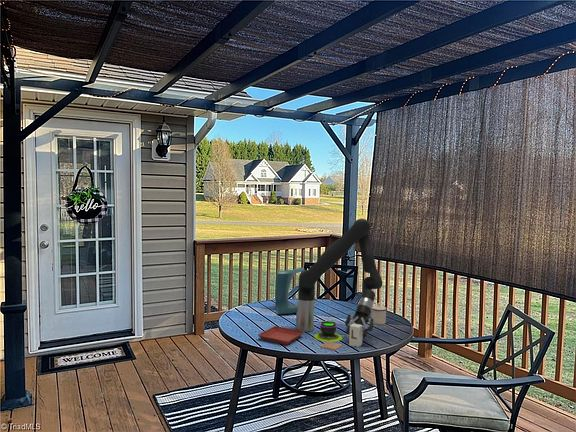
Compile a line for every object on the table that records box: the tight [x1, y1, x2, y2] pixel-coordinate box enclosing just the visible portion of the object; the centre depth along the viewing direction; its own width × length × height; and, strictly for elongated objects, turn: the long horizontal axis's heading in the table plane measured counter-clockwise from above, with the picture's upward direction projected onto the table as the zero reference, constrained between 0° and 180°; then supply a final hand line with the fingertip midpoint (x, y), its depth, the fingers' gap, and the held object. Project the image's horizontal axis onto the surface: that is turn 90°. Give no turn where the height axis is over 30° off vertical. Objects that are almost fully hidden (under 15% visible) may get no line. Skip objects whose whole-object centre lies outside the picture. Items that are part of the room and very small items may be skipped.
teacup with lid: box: [370, 302, 387, 325], centre depth 253 cm, size 12×9×12 cm
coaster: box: [320, 341, 343, 352], centre depth 208 cm, size 8×8×1 cm
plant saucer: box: [257, 325, 305, 346], centre depth 218 cm, size 18×18×3 cm
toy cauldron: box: [313, 316, 343, 343], centre depth 222 cm, size 15×15×11 cm
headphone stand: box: [274, 267, 316, 315], centre depth 272 cm, size 26×28×28 cm
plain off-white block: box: [348, 322, 364, 348], centre depth 211 cm, size 5×5×10 cm
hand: (355, 335), depth 211 cm, fingers open, 8 cm apart
